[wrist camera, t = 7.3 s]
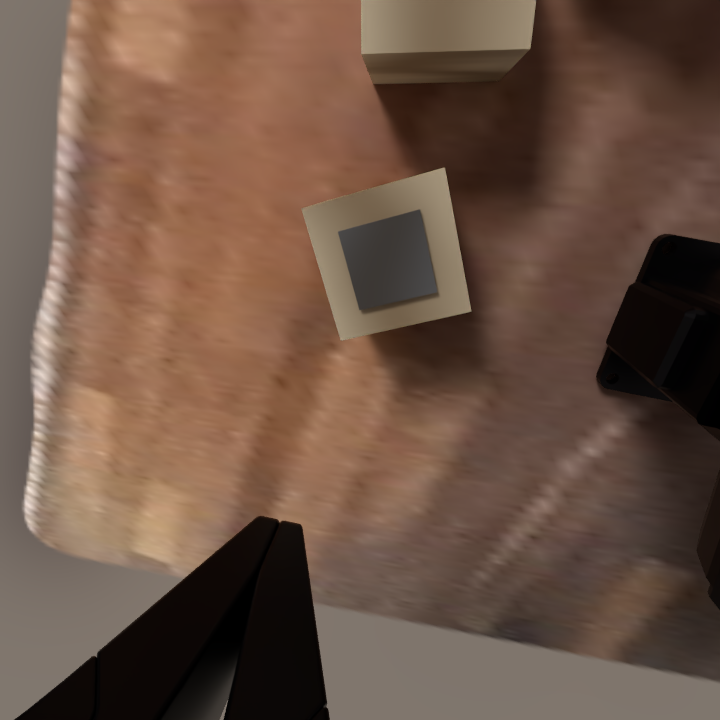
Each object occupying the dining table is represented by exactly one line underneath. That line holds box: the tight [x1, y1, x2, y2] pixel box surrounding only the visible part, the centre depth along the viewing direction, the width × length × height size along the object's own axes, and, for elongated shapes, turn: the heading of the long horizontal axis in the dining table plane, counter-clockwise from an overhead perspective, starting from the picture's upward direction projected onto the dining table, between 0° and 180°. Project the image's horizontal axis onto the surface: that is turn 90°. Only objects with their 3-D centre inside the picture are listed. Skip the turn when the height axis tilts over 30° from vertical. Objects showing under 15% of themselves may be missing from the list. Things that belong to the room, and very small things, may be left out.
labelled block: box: [302, 168, 472, 341], centre depth 16 cm, size 4×4×5 cm
